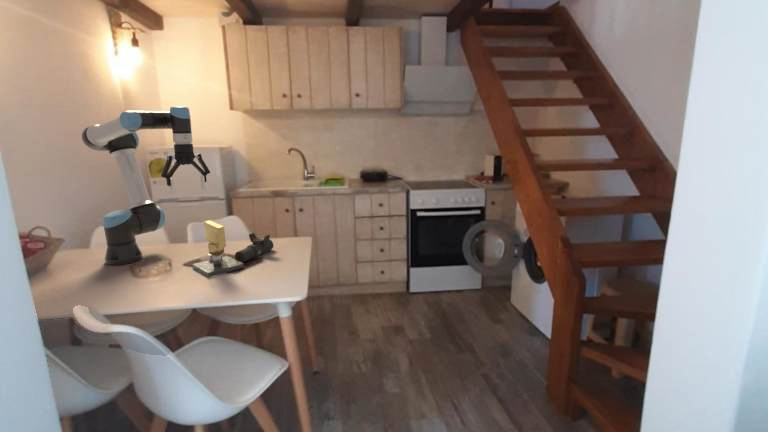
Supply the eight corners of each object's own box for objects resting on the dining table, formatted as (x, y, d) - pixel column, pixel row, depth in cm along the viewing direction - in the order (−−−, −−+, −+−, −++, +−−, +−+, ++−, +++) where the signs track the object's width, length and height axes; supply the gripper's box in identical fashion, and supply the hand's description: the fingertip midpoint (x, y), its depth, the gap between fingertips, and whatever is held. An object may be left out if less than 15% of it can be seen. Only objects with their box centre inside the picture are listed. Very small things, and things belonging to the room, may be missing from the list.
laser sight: (232, 262, 194) (229, 241, 192) (262, 248, 214) (260, 229, 212) (249, 264, 190) (247, 244, 188) (278, 250, 211) (276, 231, 208)
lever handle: (216, 258, 176) (213, 228, 173) (202, 250, 188) (199, 222, 185) (231, 255, 181) (228, 226, 178) (217, 247, 192) (214, 219, 189)
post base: (193, 268, 186) (191, 253, 184) (227, 259, 197) (226, 245, 195) (208, 277, 175) (206, 261, 173) (243, 267, 186) (242, 252, 184)
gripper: (155, 145, 170) (161, 196, 175) (215, 142, 187) (219, 189, 192) (149, 144, 175) (155, 193, 180) (207, 141, 192) (212, 186, 197)
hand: (188, 191), depth 186 cm, fingers open, 13 cm apart
